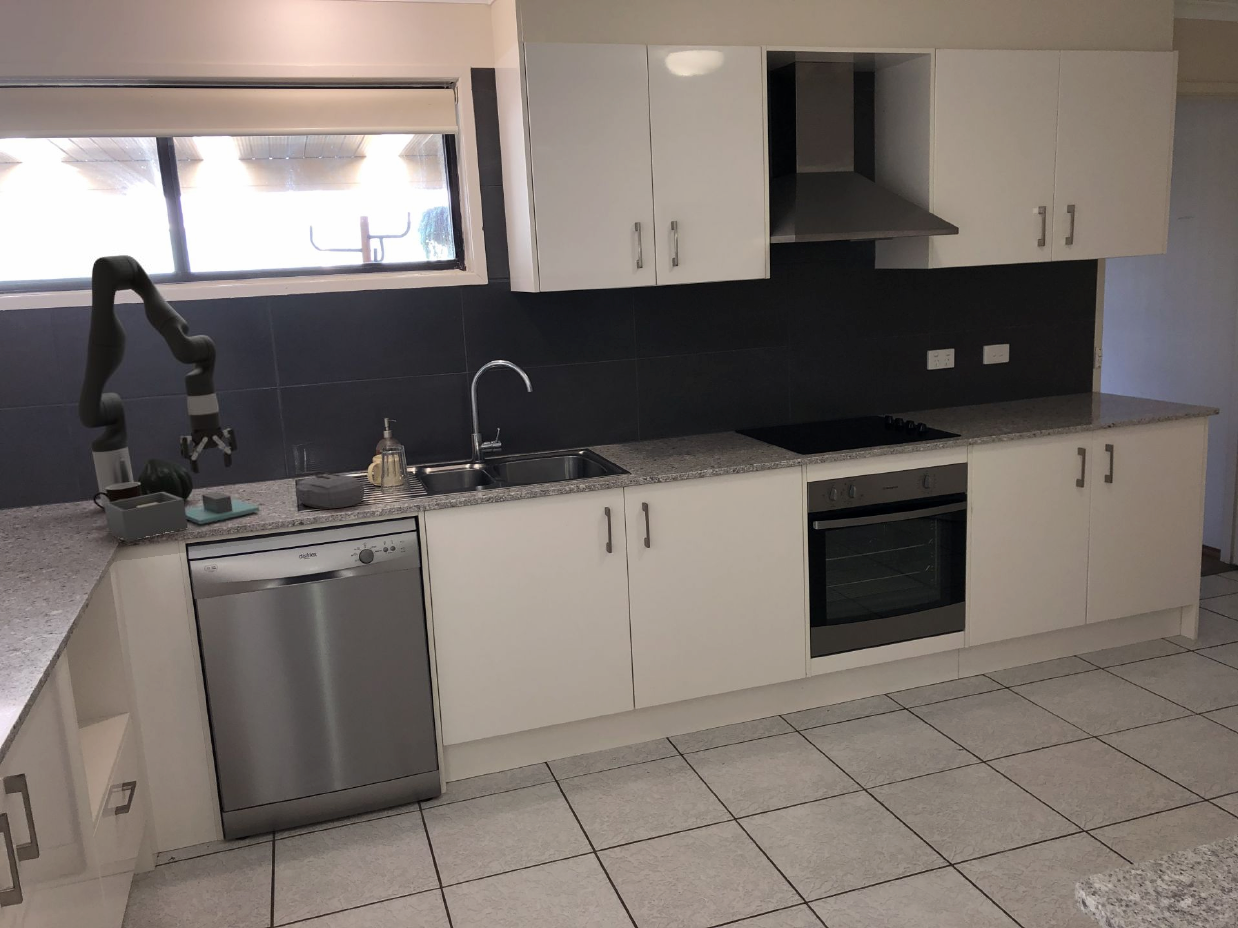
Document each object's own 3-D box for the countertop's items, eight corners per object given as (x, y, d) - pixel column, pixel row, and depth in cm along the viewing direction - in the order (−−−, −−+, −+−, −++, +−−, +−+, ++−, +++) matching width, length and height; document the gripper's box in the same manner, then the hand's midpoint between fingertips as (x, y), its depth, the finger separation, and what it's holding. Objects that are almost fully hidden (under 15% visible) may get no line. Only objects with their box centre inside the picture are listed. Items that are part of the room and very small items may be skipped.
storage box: (109, 533, 259) (103, 503, 258) (168, 520, 269) (163, 491, 268) (127, 542, 248) (121, 511, 247) (188, 528, 258) (183, 498, 257)
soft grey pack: (289, 506, 277) (331, 514, 264) (285, 477, 275) (327, 483, 263) (335, 494, 288) (377, 501, 276) (331, 466, 287) (374, 471, 274)
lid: (179, 518, 272) (175, 497, 270) (236, 506, 282) (233, 485, 281) (200, 527, 260) (196, 505, 259) (259, 514, 270) (256, 492, 269)
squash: (210, 479, 294) (172, 444, 292) (184, 493, 279) (143, 456, 278) (182, 511, 297) (144, 476, 296) (155, 526, 283) (114, 490, 281)
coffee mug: (153, 517, 274) (147, 482, 272) (130, 525, 266) (124, 489, 264) (118, 516, 277) (112, 482, 275) (95, 525, 269) (88, 489, 267)
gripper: (224, 406, 272) (232, 463, 276) (171, 414, 263) (180, 473, 267) (235, 408, 267) (243, 467, 270) (181, 416, 258) (190, 477, 261)
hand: (212, 470), depth 269 cm, fingers open, 8 cm apart
